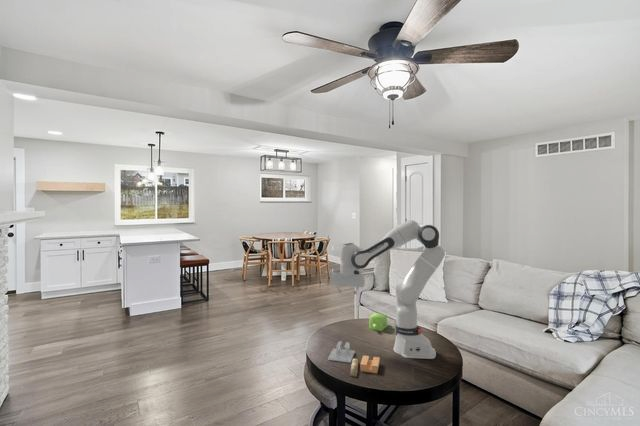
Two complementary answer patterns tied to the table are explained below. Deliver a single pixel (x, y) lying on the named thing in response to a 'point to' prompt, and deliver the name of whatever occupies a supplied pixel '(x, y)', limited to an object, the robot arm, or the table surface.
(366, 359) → the orange grooved block
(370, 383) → the table surface
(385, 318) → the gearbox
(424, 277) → the robot arm
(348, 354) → the block
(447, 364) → the table surface
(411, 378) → the table surface
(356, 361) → the axle
